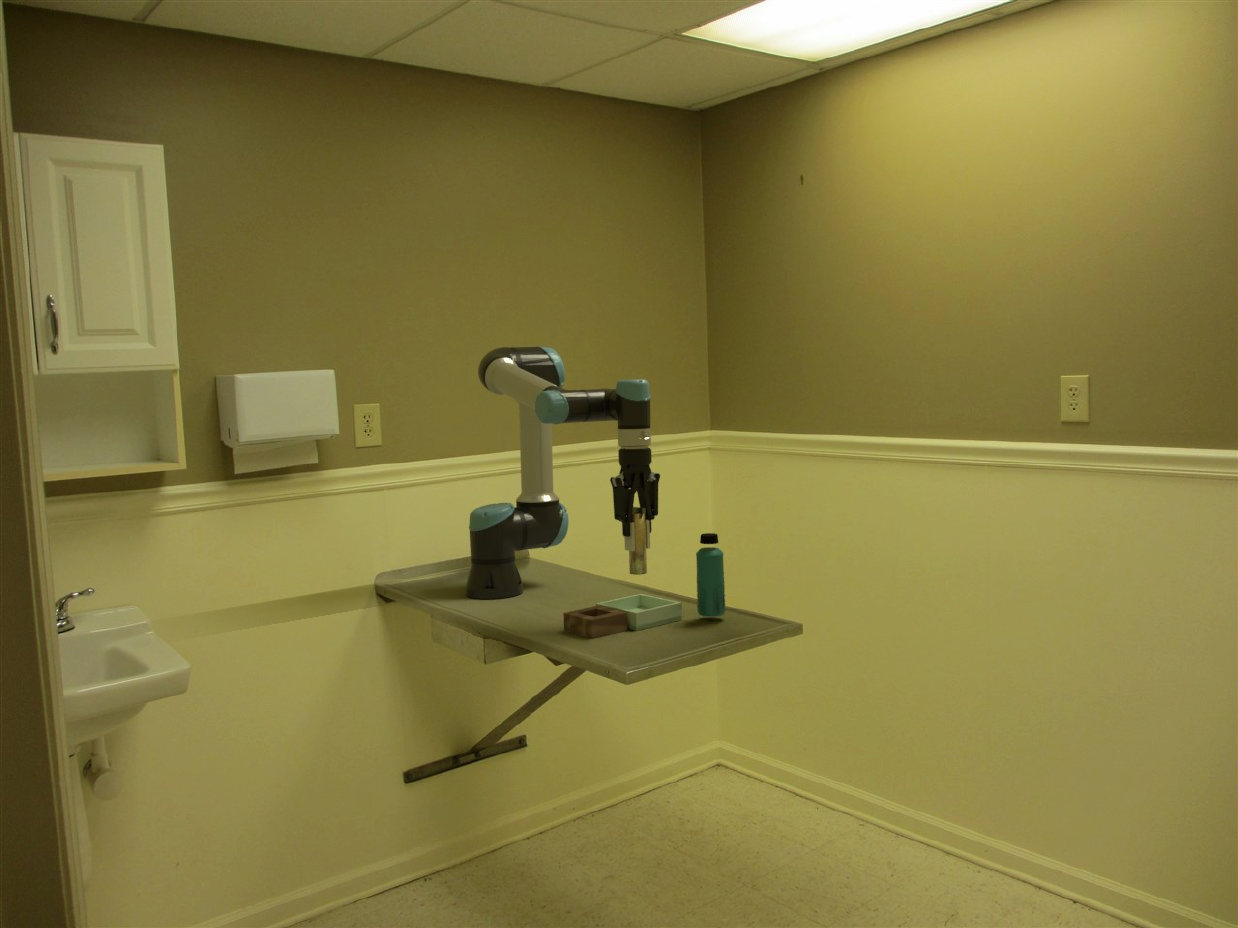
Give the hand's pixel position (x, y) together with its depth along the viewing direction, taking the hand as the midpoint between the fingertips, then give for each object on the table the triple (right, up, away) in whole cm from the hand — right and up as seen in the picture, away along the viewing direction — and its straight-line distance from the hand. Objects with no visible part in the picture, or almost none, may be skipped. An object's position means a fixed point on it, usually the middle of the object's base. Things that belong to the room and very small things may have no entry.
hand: (637, 548), depth 229 cm
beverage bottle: (+17, -16, 0) cm, 24 cm away
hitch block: (-9, -18, -7) cm, 21 cm away
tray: (0, -17, +1) cm, 17 cm away
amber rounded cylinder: (0, -6, 0) cm, 6 cm away
